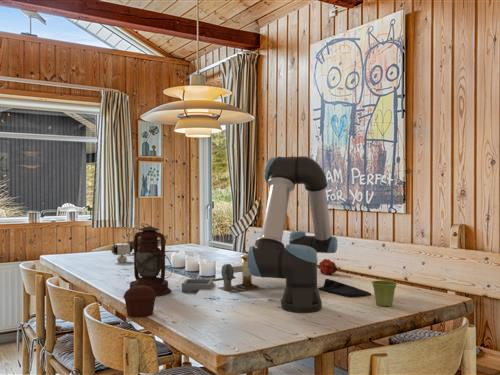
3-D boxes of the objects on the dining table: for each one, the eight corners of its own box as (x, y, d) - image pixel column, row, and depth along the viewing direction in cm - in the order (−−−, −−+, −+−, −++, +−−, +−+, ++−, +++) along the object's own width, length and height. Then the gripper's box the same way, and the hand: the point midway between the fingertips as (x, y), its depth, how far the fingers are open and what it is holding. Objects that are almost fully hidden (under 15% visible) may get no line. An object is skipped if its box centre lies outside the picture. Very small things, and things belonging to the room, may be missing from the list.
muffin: (159, 310, 180) (159, 283, 180) (154, 318, 169) (154, 289, 169) (126, 310, 180) (126, 283, 180) (119, 318, 169) (119, 289, 169)
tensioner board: (265, 292, 211) (265, 263, 211) (231, 296, 202) (231, 266, 202) (249, 286, 222) (249, 259, 222) (216, 291, 213) (216, 262, 213)
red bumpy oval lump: (320, 275, 261) (335, 282, 251) (311, 267, 256) (326, 273, 246) (328, 261, 263) (344, 268, 253) (320, 253, 258) (335, 259, 248)
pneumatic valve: (111, 262, 295) (111, 242, 295) (129, 260, 302) (129, 241, 302) (114, 263, 291) (114, 243, 291) (133, 261, 297) (133, 242, 297)
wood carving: (171, 250, 349) (171, 235, 349) (126, 255, 326) (126, 238, 326) (164, 249, 356) (164, 234, 356) (120, 253, 333) (120, 237, 333)
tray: (209, 292, 210) (209, 284, 210) (181, 292, 211) (181, 284, 211) (212, 286, 222) (212, 279, 222) (186, 286, 223) (186, 278, 223)
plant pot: (377, 301, 195) (377, 279, 195) (400, 304, 189) (400, 282, 189) (367, 305, 187) (367, 282, 187) (390, 309, 181) (390, 285, 181)
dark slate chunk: (344, 300, 198) (344, 288, 198) (315, 289, 218) (315, 279, 218) (375, 296, 205) (375, 285, 205) (343, 286, 225) (343, 276, 225)
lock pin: (252, 288, 211) (252, 256, 211) (240, 288, 211) (240, 256, 211) (253, 286, 216) (253, 254, 216) (241, 286, 216) (241, 254, 216)
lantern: (180, 290, 214) (180, 222, 214) (150, 299, 198) (150, 225, 198) (147, 286, 223) (147, 220, 223) (116, 294, 207) (116, 223, 207)
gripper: (294, 278, 214) (251, 284, 202) (267, 271, 232) (225, 276, 220) (294, 261, 214) (251, 265, 202) (267, 255, 232) (225, 259, 220)
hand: (238, 271), depth 211 cm, fingers open, 9 cm apart
